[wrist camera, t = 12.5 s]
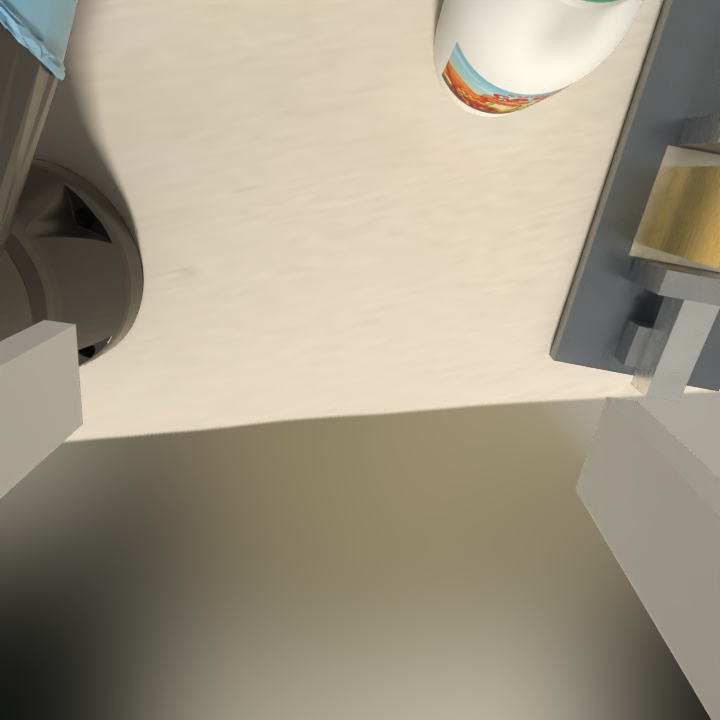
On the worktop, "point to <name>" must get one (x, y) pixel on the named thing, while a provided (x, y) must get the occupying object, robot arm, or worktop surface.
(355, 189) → the worktop surface
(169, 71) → the worktop surface
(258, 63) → the worktop surface
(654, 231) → the yellow block
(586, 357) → the grey fixture board
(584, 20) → the milk bottle
